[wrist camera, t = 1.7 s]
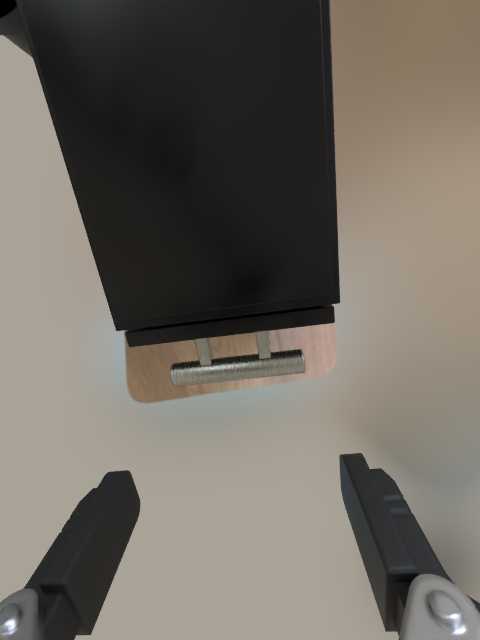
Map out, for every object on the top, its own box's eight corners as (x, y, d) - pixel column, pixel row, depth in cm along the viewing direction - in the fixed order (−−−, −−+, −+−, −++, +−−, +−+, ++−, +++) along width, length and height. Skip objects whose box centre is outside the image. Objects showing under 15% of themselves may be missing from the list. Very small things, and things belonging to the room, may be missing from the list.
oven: (295, 263, 32) (343, 306, 15) (185, 279, 33) (110, 335, 16) (281, 100, 27) (330, -128, 10) (153, 125, 28) (-6, -38, 11)
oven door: (301, 313, 30) (337, 380, 17) (190, 327, 32) (144, 399, 18) (297, 270, 29) (334, 306, 16) (181, 286, 30) (124, 332, 17)
